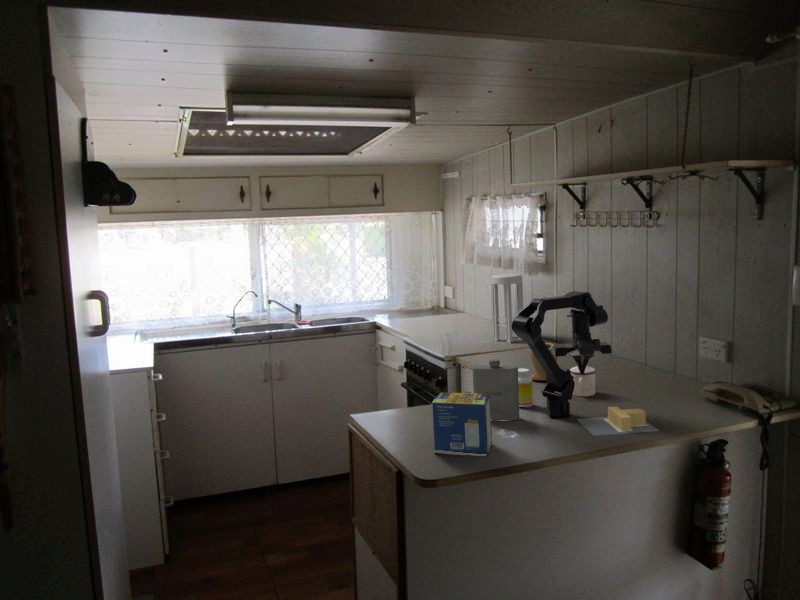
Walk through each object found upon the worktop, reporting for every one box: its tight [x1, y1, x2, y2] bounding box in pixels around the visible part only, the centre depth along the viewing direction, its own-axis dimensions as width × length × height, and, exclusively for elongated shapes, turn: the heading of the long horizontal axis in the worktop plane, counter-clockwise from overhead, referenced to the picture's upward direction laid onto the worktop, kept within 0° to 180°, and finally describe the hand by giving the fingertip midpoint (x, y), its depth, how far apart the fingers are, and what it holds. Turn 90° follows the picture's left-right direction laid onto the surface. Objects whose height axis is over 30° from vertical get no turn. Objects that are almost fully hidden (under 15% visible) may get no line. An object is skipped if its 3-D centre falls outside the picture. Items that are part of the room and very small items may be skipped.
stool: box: [490, 273, 524, 344], centre depth 334 cm, size 16×16×35 cm
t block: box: [607, 406, 647, 431], centre depth 197 cm, size 9×11×4 cm
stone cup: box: [529, 342, 558, 382], centre depth 252 cm, size 15×12×15 cm
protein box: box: [431, 392, 493, 454], centre depth 183 cm, size 10×15×16 cm
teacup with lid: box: [569, 365, 596, 397], centre depth 231 cm, size 12×9×12 cm
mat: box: [576, 416, 660, 437], centre depth 197 cm, size 20×16×1 cm
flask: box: [471, 358, 520, 421], centre depth 209 cm, size 15×6×20 cm, turn 74°
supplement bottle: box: [518, 367, 534, 409], centre depth 221 cm, size 7×7×13 cm
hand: (582, 374), depth 213 cm, fingers closed
